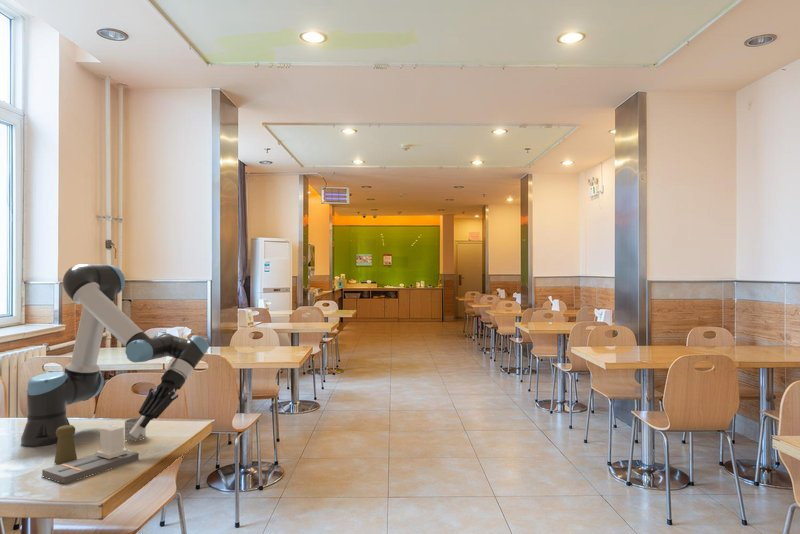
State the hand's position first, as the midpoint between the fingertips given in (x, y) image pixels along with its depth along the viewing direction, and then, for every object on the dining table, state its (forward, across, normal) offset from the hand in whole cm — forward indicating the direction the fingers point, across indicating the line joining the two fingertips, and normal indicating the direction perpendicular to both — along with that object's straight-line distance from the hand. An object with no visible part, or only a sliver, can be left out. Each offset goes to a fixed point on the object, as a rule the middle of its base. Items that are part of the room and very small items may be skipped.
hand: (132, 435), depth 167 cm
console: (+13, +1, +4) cm, 14 cm away
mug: (-4, +18, -14) cm, 23 cm away
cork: (+14, +15, +4) cm, 21 cm away
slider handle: (+8, +1, +2) cm, 8 cm away
